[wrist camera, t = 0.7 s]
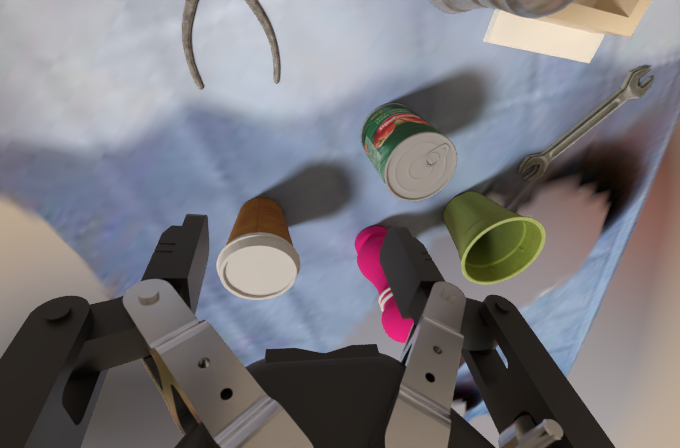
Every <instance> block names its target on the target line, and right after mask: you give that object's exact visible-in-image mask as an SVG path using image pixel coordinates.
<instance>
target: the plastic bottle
mask: <svg viewBox="0 0 680 448" xmlns="http://www.w3.org/2000/svg"><path fill="white" fill-rule="evenodd" d="M574 1H576V0H430V2H431V3H432V4H433V5H434V7H436V8H438V9H439V10H441V11H443V12H445V13H448V14H458V13H463V12H467V11H470V10H472V9H477V8H484V7H485V8H492V9H499V10H502V11H505V12H508V13H511V14H514V15H516V16H519V17H524V18H532V19H537V18H542V17H546V16H548V15H551V14H554V13H556V12H558V11H561V10H563V9H564V8H566V7H568V6H569V5H571V4H572V3H573V2H574Z"/></svg>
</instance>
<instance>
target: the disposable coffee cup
mask: <svg viewBox="0 0 680 448" xmlns="http://www.w3.org/2000/svg"><path fill="white" fill-rule="evenodd" d="M216 266H217V272H218V275H219V277H220V279H221V282H222V284H223V285H224V287H225V288H226V289H227V290H228V291H230V292H231V293H233V294H234V295H236V296H239V297H241V298H245V299H251V300H265V299H269V298H274V297H276V296H278V295H280V294H283V293H284V292H286V291H287V290H288V289H289V288H290V287H291V286H292V285H293V283H294V281H295V279H296V277H297V275H298V273H299V270H300V259H299V255H298V253H297V252H296V250H295V248H294V247H293V244H292V241H291V238H290V234H289V231H288V227H287V223H286V220H285V217H284V213H283V210H282V208H281V206H280V205H279V204H278V203H276V202H275V201H273V200H271V199H268V198H255V199H252V200H249V201H248V202H246V203H245V204H244V205H243V206H242V208H241V209H240V212H239V215H238V217H237V219H236V222H235V224H234V227H233V230H232V232H231V234H230V237H229V240H228V242H227V244H226V246H225V247H224V248H223V249H222V251H221V252H220V254H219V256H218V259H217V264H216Z"/></svg>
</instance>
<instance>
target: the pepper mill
mask: <svg viewBox="0 0 680 448" xmlns="http://www.w3.org/2000/svg"><path fill="white" fill-rule="evenodd" d="M386 233H387V229H386V228H384V227H381V226H372V227H368V228H366V229H364V230H363V231H361V232H360V233H359V234H358V236H357V237H356V240H355V248H356V251H357V254H358V256H357V263H358V266H359V268H360V270H361V272H362V274H363V275H364V276H365V277H366V278H367V279H368V280H369V281H370V282H372V283H373V284H374V286H375V287H376V288H377V290H378V292H379V294H380V297H379V304H380V306H381V310H382V312H383V313H382V325H383V327H384V330H385V332H386V333H387V334H388V336H389V337H390V338H392V339H393V340H395V341H397V342H401V343H406V340H407V338H408V335H409V332H410V330H411V327H412V325H413V323H414V321H413V319H402V316H401V314H400V311H399V309H398V306H397V304H396V301H395V299H394V296H393V294H392V291H391V289H390V286H389V284H388V281H387V279H386V276H385V274H384V271H383V269H382V266H381V264H380V258H379V256H380V250H381V247H382V244H383V241H384V238H385V236H386Z"/></svg>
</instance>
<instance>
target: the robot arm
mask: <svg viewBox="0 0 680 448" xmlns="http://www.w3.org/2000/svg"><path fill="white" fill-rule="evenodd" d="M208 256H209V232H208V217H207V215H197V214H187V215H186V217H185V220H184V222H183V225H182V226H171V227H169V228H168V229H167V230H166V231H165V232H163V233H162V235H161V237H160V240H159V242H158V245H157V246H156V249H155V252H154V253H153V255H152V258H151V260H150V262H149V264H148V266H147V269H146V271H145V273H144V275H143V278H142V280H141V282H139V283H137V284H135V285H133V286H132V287H130V288H129V289H128V290H127V291H126V292H125V294H124V296H122V297H119V298H116V299H113V300H109V301H104V302H100V303H95V304H91V305H89V303H88V301H87V300H86V299H84V298H82V297H78V296H64V297H59V298H55V299H52V300H50V301H48V302H45V303H44V304H42V305H40V306H39V307H37V308H36V309H35V310H34V311H32V312H31V314H30V315H29V316H28V318H27V319H26V321H25V322H24V324H23V325H22V327H21V328H20V330H19V331H18V333H17V334H16V336H15V337H14V339H13V341H12V342H11V344H10V345H9V347H8V348H7V350H6V351H5V353H4V354H3V356H2V357H1V359H0V448H80V447H81V444H82V441H83V439H84V436H85V433H86V430H87V427H88V424H89V422H90V419H91V416H92V413H93V410H94V408H95V405H96V402H97V399H98V396H99V394H100V391H101V388H102V385H103V383H104V380H105V377H106V374H107V371H108V369H109V368H112V367H115V366H118V365H121V364H124V363H128V362H131V361H134V360H137V359H141V360H142V362H143V364H144V365H145V367H146V369H147V370H148V372H149V374H150V376H151V377H152V379H153V381H154V382H155V384H156V385H157V387H158V389H159V391H160V392H161V394H162V396H163V398H164V400H165V402H166V404H167V406H168V409H169V411H170V413H171V415H172V417H173V419H174V421H175V423H176V424H177V426H178V427H179V429H180V431H181V433H182V435H183V436H184V437H183V438H182V439H181V440H180V442H179V443H178V444H177V445H176V446H175V447H174V448H495V447H494V446H493V445H492V444H491V443H490V442H489V441H488V440H487V439H486V438H484V437H483V436H482V435H481V434H480V433H479V432H478V431H477V430H476V429H475V428H473V427H472V426H471V425H470V424H469V423H468V422H467V421H466V420H465V419H463V418H462V417H461V416H460V415H459V414H458V413H457V412H456V411H455V410H453V409H452V408H451V404H452V399H453V393H454V388H455V382H456V377H457V372H458V366H459V361H460V355H461V353H462V355H463V357H464V359H465V361H466V363H467V366H468V368H469V370H470V372H471V374H472V376H473V379H474V381H475V383H476V385H477V387H478V389H479V391H480V394H481V396H482V398H483V400H484V402H485V404H486V406H487V409H488V411H489V413H490V415H491V417H492V419H493V421H494V424H495V426H496V428H497V430H498V432H499V434H500V436H499V441H498V442H499V448H615V446H614V445H613V444H612V442H611V441H610V439H609V438H608V437H607V435H606V434H605V432H604V431H603V429H602V428H601V427H600V425H599V424H598V423H597V421H596V420H595V418H594V417H593V415H592V414H591V413H590V411H589V410H588V409H587V407H586V405H585V404H584V403H583V401H582V400H581V398H580V397H579V396H578V394H577V393H576V392H575V390H574V388H573V387H572V386H571V384H570V383H569V381H568V380H567V379H566V377H565V376H564V374H563V373H562V372H561V370H560V369H559V367H558V366H557V364H556V363H555V362H554V360H553V359H552V357H551V356H550V355H549V353H548V352H547V350H546V349H545V348H544V346H543V345H542V343H541V342H540V340H539V339H538V338H537V336H536V335H535V333H534V332H533V331H532V329H531V328H530V326H529V325H528V324H527V322H526V321H525V319H524V318H523V316H522V315H521V314H520V312H519V311H518V309H517V308H516V307H515V306H514V305H513V304H512V303H511V302H510V301H508V300H507V299H505V298H503V297H501V296H498V295H489V296H487V297H486V298H485V300H484V301H483V302H480V301H477V300H473V299H469V298H466V297H465V295H464V293H463V292H462V291H461V290H460V289H459V288H458V287H457V286H455V285H453V284H451V283H449V282H445V280H444V278H443V277H442V275H441V273H440V272H439V270H438V268H437V267H436V265H435V263H434V262H433V261H432V258H431V257H430V255H429V254H428V252H427V250H426V248H425V246H424V245H423V244H422V243H421V242H420V241H419V240H417V239H416V238H412V236H411V234H410V232H409V231H408V229H407V228H406V227H399V226H390V227H389V228H388V230H387V233H386V236H385V238H384V241H383V244H382V247H381V250H380V256H379V258H380V264H381V266H382V269H383V271H384V274H385V276H386V279H387V281H388V284H389V286H390V289H391V291H392V294H393V296H394V299H395V301H396V304H397V306H398V309H399V311H400V314H401V316H402V319H413V321H414V323H413V325H412V327H411V330H410V332H409V335H408V338H407V340H406V343H405V346H404V348H403V351H402V353H401V356H400V358H399V361H398V360H396V359H394V358H392V357H390V356H388V355H385V354H382V353H379V351H378V348H377V345H376V344H368V345H351V346H347V347H345V348H341V349H338V350H335V351H332V352H329V353H318V352H313V351H308V350H303V349H298V348H285V349H266V354H265V359H262V360H259V361H256V362H254V363H252V364H250V365H249V366H247V367H244V365H243V364H242V363H241V362H240V360H239V359H238V358H237V357H236V356H235V354H234V353H233V352H232V351H231V349H230V348H229V347H228V346H227V344H226V343H225V342H224V341H223V339H222V338H221V337H220V336H219V334H218V333H217V332H216V331H215V329H214V328H213V327H212V326H211V324H210V323H209V322H208V321H206V320H203V321H199V320H198V319H197V318H196V316H195V312H196V308H197V304H198V299H199V295H200V291H201V286H202V282H203V278H204V274H205V269H206V265H207V261H208ZM498 345H499V347H500V348H501V350H502V352H503V353H504V355H505V357H506V359H507V362H508V369H507V368H506V366H505V364H504V363H503V361H502V359H501V357H500V356H499V354H498V352H497V350H496V349H495V348H496V347H497V346H498Z"/></svg>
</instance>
